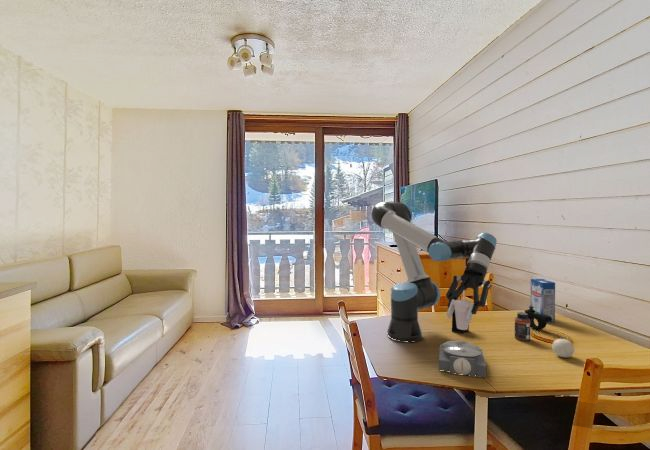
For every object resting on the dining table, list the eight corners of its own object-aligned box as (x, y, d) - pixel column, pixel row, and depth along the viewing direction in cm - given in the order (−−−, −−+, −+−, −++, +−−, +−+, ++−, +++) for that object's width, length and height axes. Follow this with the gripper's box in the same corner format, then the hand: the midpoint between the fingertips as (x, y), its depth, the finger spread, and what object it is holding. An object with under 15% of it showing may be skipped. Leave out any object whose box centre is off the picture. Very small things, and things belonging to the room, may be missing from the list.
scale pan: (442, 355, 117) (442, 352, 117) (442, 341, 129) (442, 338, 129) (482, 360, 113) (482, 357, 113) (479, 345, 125) (479, 343, 125)
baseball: (577, 357, 126) (578, 340, 126) (569, 362, 122) (569, 344, 122) (557, 351, 132) (558, 334, 132) (549, 355, 128) (549, 338, 128)
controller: (529, 325, 162) (529, 304, 162) (553, 333, 151) (553, 311, 150) (522, 326, 161) (522, 305, 161) (546, 334, 149) (546, 312, 149)
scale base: (438, 372, 116) (438, 355, 116) (440, 353, 131) (439, 339, 131) (486, 379, 111) (486, 361, 110) (481, 359, 126) (481, 343, 125)
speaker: (463, 334, 151) (463, 311, 152) (451, 331, 155) (451, 309, 156) (471, 331, 156) (471, 309, 156) (459, 329, 160) (459, 307, 161)
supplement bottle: (532, 341, 141) (532, 315, 141) (517, 341, 143) (517, 315, 142) (527, 336, 147) (527, 311, 147) (512, 336, 149) (512, 311, 148)
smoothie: (463, 332, 116) (464, 293, 116) (448, 326, 122) (449, 289, 121) (475, 329, 120) (476, 290, 119) (460, 323, 125) (461, 287, 124)
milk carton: (554, 322, 166) (555, 282, 165) (542, 322, 166) (542, 282, 165) (542, 316, 176) (542, 278, 175) (530, 316, 176) (530, 278, 175)
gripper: (506, 276, 124) (489, 330, 113) (455, 270, 138) (436, 318, 127) (501, 264, 120) (483, 319, 109) (449, 258, 134) (429, 307, 123)
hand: (458, 318), depth 118 cm, fingers closed on smoothie, 6 cm apart
